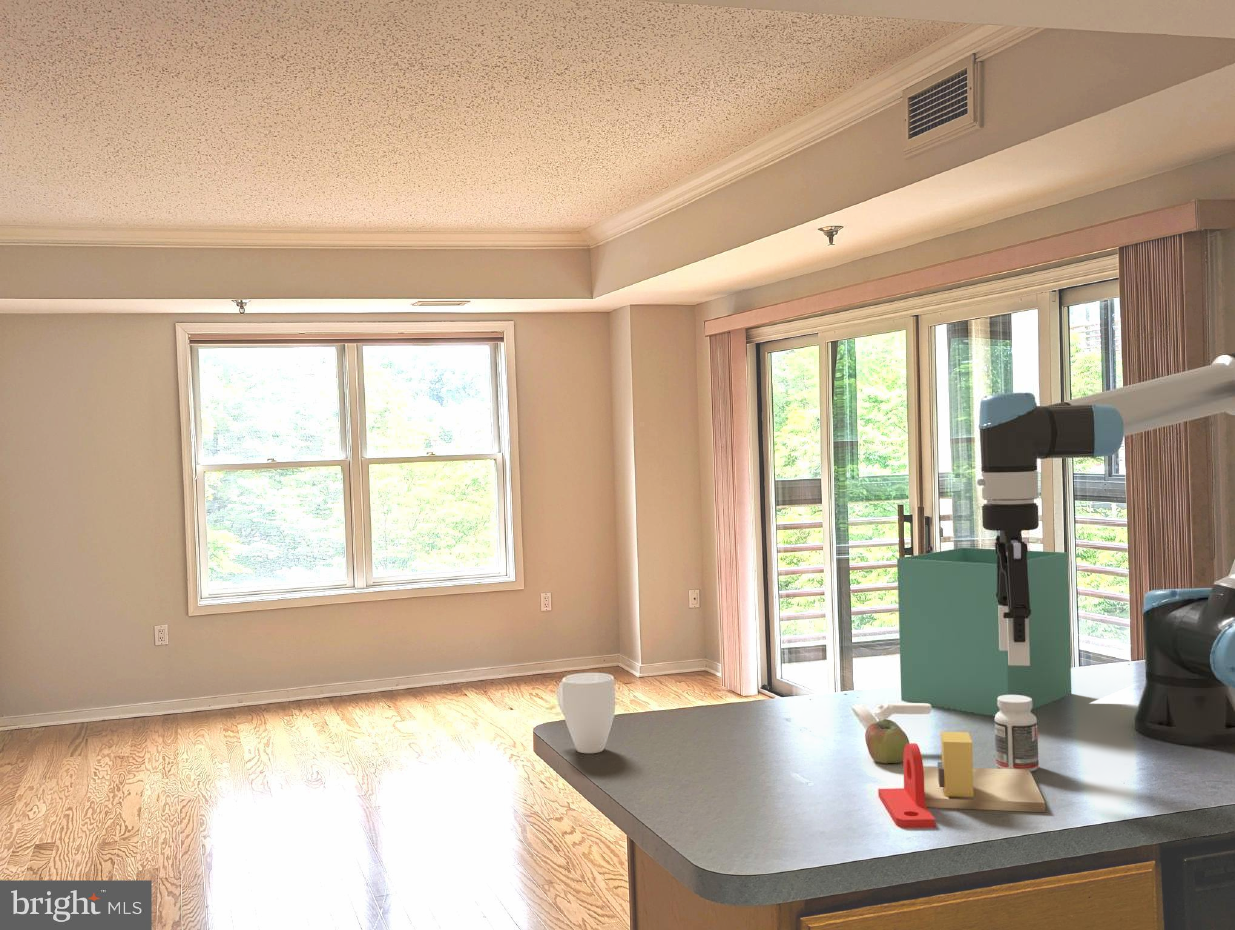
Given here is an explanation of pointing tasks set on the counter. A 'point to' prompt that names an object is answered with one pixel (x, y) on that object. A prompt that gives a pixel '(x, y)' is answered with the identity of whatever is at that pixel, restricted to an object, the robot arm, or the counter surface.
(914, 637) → the box
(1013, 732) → the pill bottle
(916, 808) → the bracket
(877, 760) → the apple
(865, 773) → the counter surface
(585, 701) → the mug
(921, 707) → the hook
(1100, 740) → the counter surface
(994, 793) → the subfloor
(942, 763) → the block
